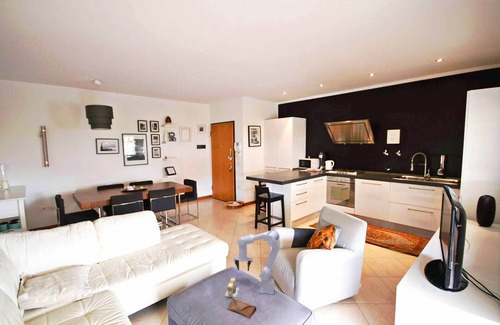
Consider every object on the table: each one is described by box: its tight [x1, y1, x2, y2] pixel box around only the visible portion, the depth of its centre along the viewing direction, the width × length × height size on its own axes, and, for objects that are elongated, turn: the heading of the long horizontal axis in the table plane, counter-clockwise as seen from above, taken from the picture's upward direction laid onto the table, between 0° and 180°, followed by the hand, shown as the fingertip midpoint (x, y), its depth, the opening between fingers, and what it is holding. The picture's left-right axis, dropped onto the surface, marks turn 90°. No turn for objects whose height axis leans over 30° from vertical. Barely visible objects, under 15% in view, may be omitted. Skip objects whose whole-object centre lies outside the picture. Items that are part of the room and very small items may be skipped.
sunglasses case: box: [226, 297, 257, 319], centre depth 145 cm, size 18×7×7 cm, turn 63°
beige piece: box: [226, 276, 237, 295], centre depth 161 cm, size 12×3×5 cm, turn 170°
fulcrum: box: [224, 286, 240, 299], centre depth 162 cm, size 8×10×3 cm
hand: (243, 270), depth 172 cm, fingers open, 7 cm apart
